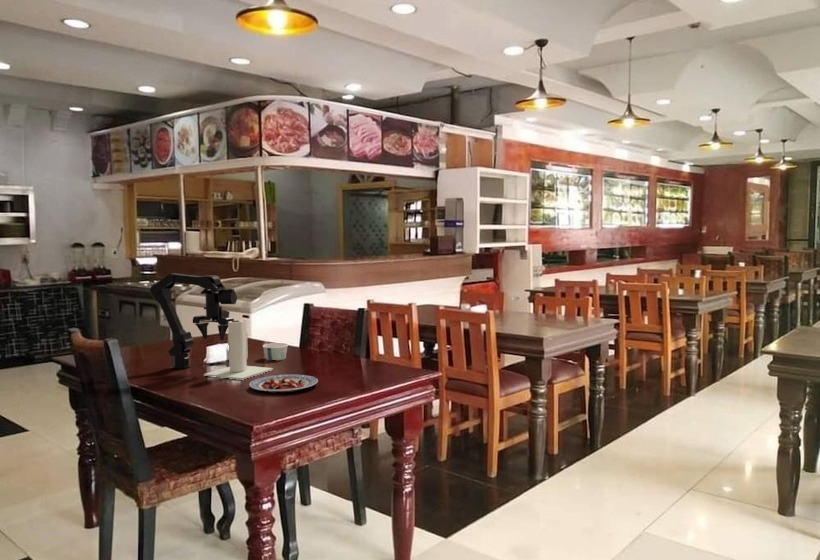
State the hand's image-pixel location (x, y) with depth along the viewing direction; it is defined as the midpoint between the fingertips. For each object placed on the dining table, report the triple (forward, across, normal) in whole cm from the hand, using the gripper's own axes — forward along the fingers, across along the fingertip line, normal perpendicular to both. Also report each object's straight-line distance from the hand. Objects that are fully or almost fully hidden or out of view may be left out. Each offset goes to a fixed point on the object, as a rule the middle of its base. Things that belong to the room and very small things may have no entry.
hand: (213, 339), depth 270 cm
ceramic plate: (+14, -48, +15) cm, 52 cm away
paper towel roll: (+12, -16, +3) cm, 20 cm away
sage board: (+13, -16, +3) cm, 21 cm away
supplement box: (+13, +4, -20) cm, 24 cm away
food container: (+13, -11, -29) cm, 34 cm away
